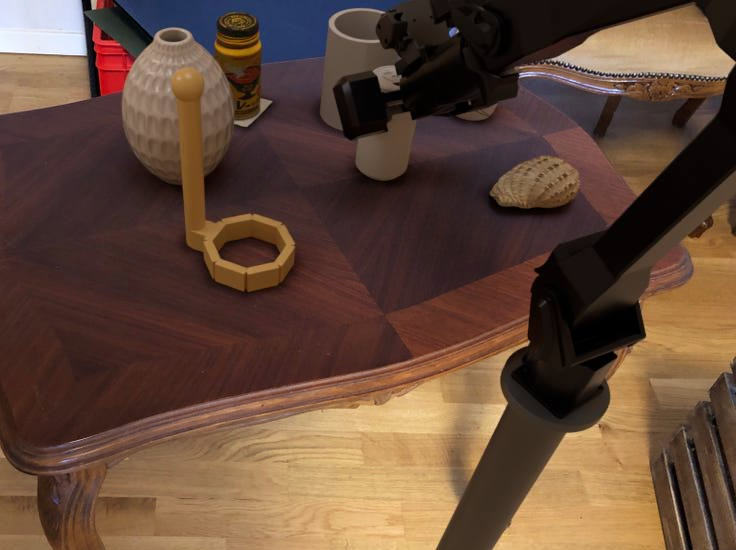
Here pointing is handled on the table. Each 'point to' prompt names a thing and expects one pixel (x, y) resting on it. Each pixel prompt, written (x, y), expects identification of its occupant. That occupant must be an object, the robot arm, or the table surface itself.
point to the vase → (174, 105)
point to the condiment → (241, 63)
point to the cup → (351, 54)
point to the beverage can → (387, 138)
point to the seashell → (537, 184)
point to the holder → (214, 235)
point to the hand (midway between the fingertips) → (382, 115)
